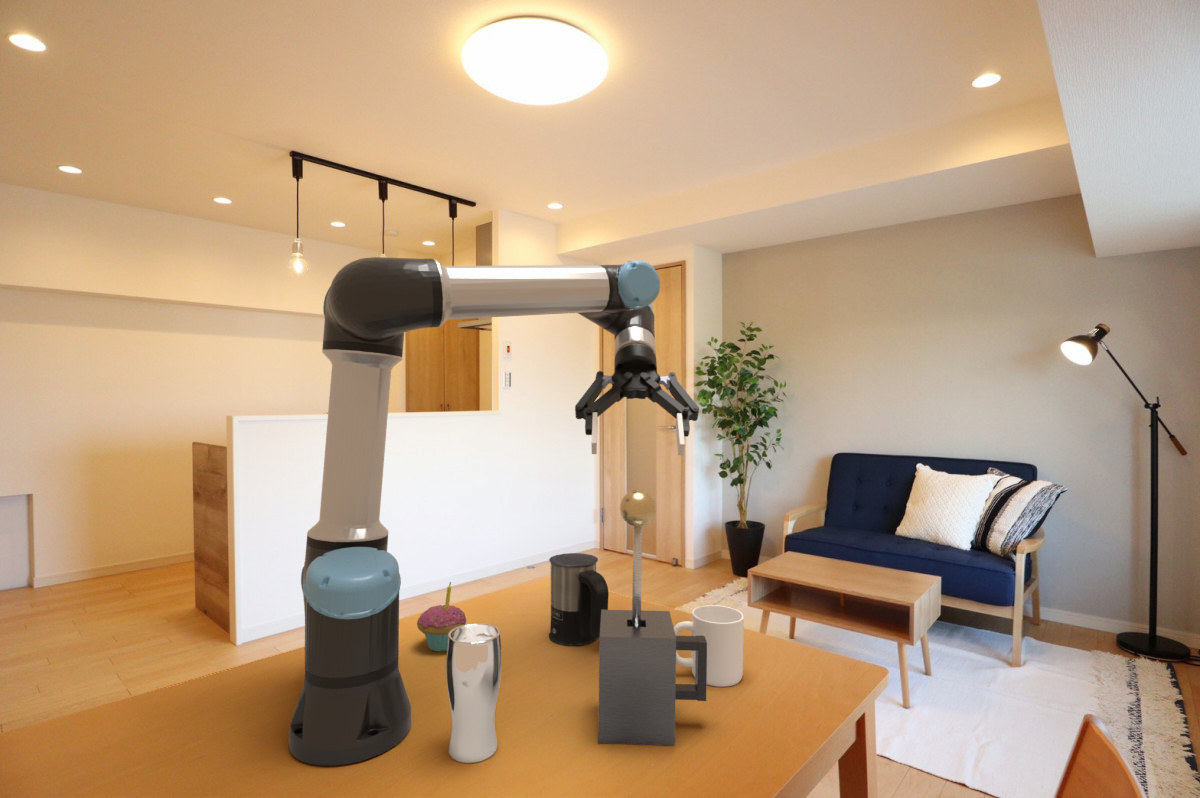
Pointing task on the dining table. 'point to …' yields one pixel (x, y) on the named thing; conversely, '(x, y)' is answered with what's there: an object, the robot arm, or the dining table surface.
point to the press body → (643, 677)
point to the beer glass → (473, 690)
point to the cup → (717, 643)
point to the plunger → (637, 539)
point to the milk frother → (576, 599)
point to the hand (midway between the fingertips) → (637, 449)
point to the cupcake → (440, 623)
